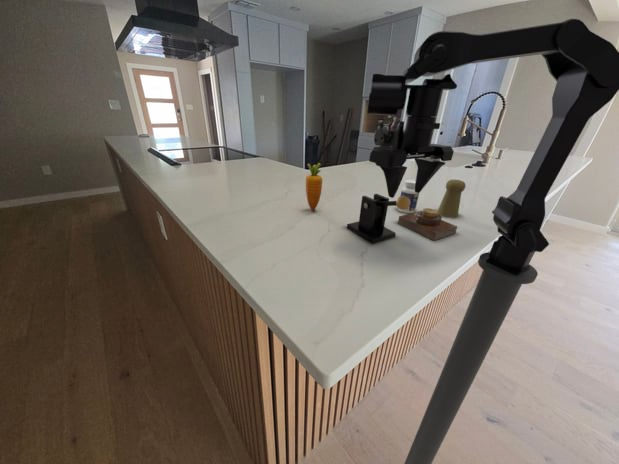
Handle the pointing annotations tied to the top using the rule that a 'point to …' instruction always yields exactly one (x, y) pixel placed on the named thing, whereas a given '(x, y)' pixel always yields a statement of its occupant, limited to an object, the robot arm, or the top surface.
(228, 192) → the top surface
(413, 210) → the pill bottle
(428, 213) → the button
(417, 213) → the switch block
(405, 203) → the ball knob lever
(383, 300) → the top surface
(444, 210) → the cork
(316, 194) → the carrot
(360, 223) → the bracket
